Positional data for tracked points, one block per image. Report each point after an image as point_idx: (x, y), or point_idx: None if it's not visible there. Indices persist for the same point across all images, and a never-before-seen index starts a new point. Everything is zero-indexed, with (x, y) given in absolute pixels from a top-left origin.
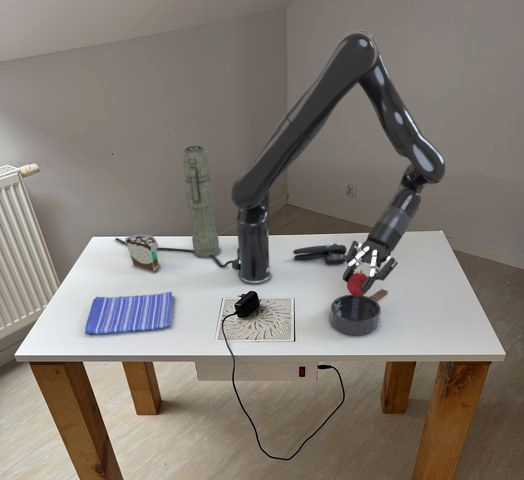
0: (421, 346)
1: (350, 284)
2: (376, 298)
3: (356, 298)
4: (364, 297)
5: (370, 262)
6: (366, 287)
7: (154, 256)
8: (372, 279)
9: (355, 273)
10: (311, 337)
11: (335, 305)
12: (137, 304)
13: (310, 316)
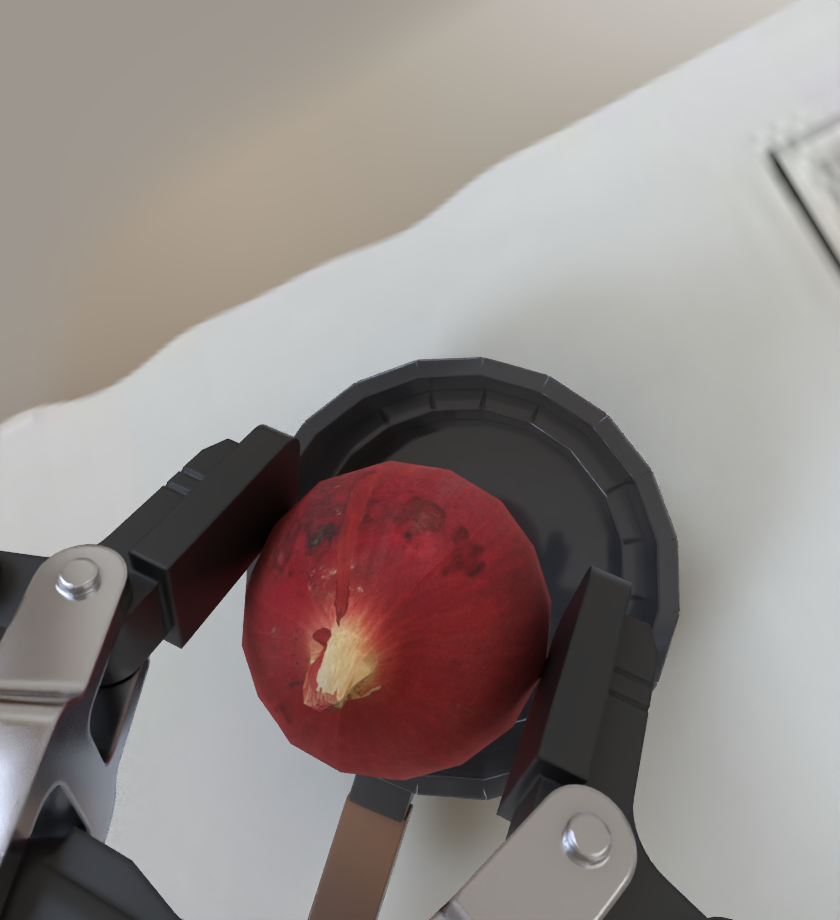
0: (25, 490)
1: (464, 493)
2: (345, 814)
3: (511, 760)
4: (437, 773)
5: (86, 862)
6: (214, 450)
7: None
8: (105, 538)
9: (428, 654)
10: (677, 254)
11: (649, 592)
12: None
13: (811, 490)
